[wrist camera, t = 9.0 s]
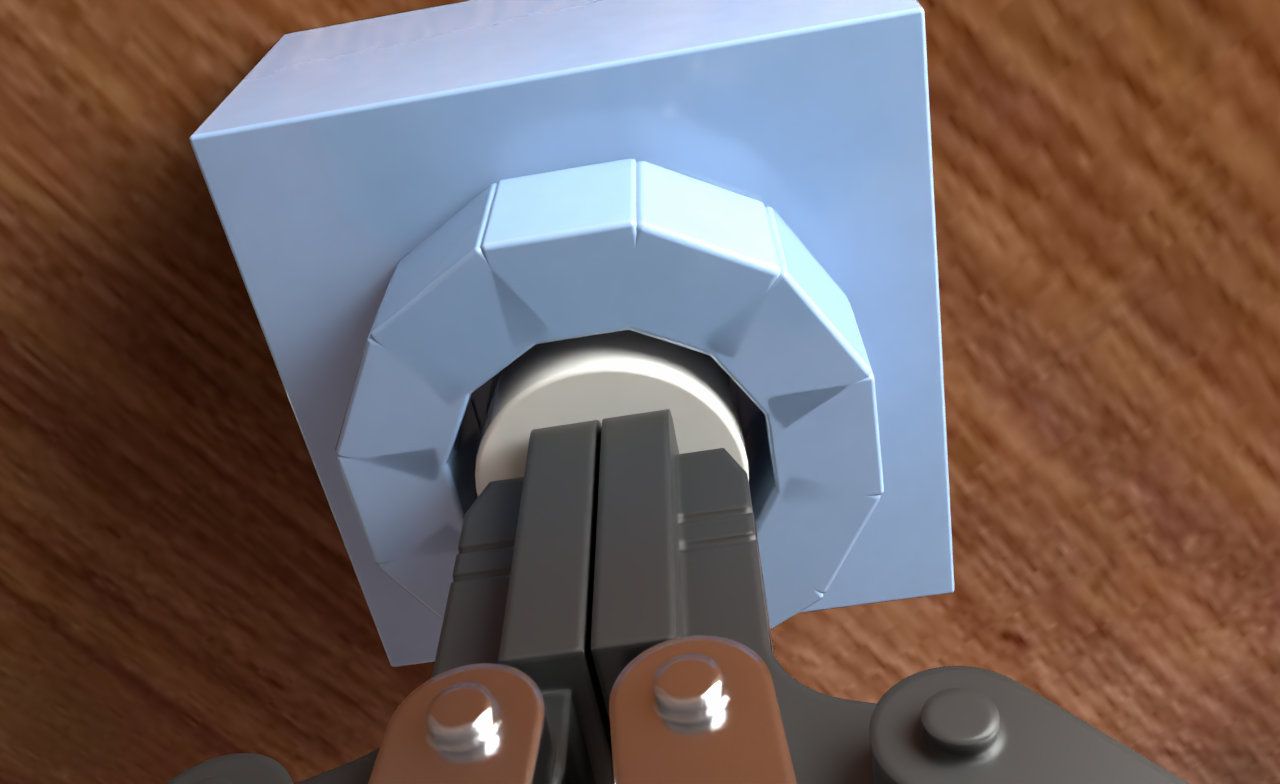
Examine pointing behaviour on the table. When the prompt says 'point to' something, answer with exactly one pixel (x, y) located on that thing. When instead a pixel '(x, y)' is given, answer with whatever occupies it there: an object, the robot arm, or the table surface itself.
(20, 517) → the table surface
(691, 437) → the white push button
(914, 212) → the blue push button base
